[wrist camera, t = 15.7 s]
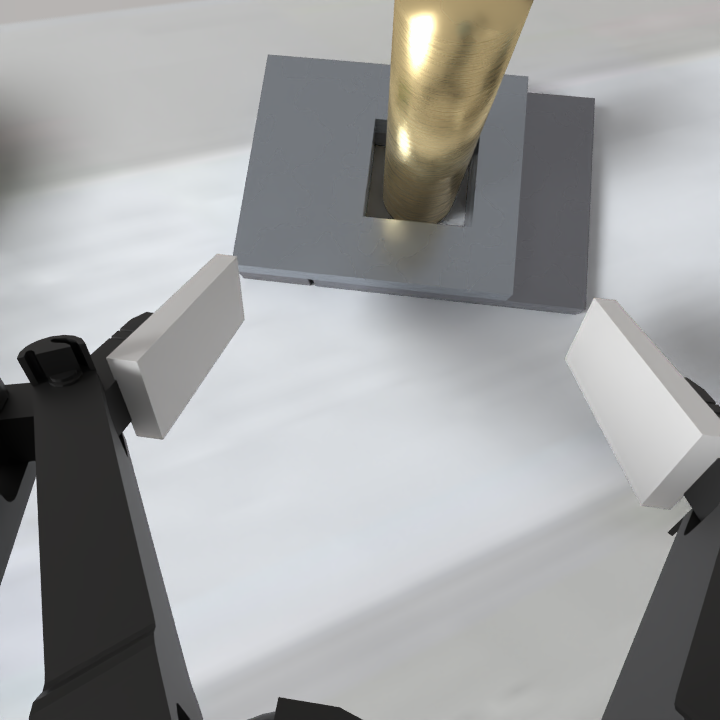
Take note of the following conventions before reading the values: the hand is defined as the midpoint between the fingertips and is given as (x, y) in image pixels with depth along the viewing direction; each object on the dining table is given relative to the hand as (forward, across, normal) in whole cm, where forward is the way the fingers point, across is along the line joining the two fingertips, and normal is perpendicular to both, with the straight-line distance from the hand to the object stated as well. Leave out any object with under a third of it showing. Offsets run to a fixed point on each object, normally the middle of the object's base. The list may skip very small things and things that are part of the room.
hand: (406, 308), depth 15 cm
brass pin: (+10, 0, +2) cm, 10 cm away
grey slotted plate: (+10, -2, +2) cm, 11 cm away
